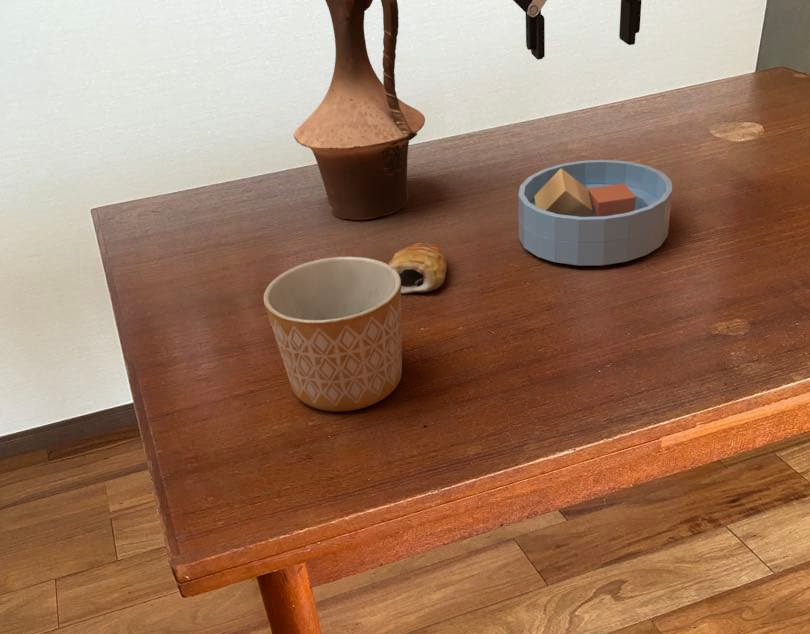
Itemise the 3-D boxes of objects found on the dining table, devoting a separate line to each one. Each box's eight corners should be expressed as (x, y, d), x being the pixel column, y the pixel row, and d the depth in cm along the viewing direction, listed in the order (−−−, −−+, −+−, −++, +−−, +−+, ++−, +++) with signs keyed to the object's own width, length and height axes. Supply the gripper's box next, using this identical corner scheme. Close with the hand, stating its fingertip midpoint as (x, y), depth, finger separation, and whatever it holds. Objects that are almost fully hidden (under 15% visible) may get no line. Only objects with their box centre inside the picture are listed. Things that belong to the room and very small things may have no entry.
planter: (277, 365, 92) (256, 271, 85) (395, 341, 93) (384, 246, 86) (293, 432, 83) (271, 333, 76) (424, 404, 84) (414, 304, 77)
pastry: (401, 258, 107) (398, 228, 105) (455, 259, 106) (454, 228, 103) (383, 295, 101) (379, 264, 98) (441, 297, 99) (439, 265, 97)
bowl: (638, 199, 113) (642, 151, 109) (689, 256, 101) (695, 204, 97) (505, 219, 113) (504, 172, 109) (539, 280, 100) (539, 228, 96)
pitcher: (458, 194, 121) (445, -49, 102) (378, 242, 112) (347, -14, 93) (362, 173, 130) (334, -53, 111) (281, 216, 121) (234, -22, 102)
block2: (621, 219, 108) (624, 182, 105) (633, 234, 105) (636, 196, 102) (585, 225, 108) (587, 188, 105) (596, 240, 105) (598, 202, 102)
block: (588, 188, 105) (560, 167, 103) (593, 211, 102) (565, 190, 100) (560, 215, 108) (533, 195, 105) (565, 238, 105) (537, 218, 103)
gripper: (504, -139, 79) (509, 71, 90) (693, -167, 79) (675, 44, 91) (487, -145, 84) (494, 53, 96) (663, -172, 85) (650, 28, 96)
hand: (582, 49), depth 93 cm, fingers open, 9 cm apart
